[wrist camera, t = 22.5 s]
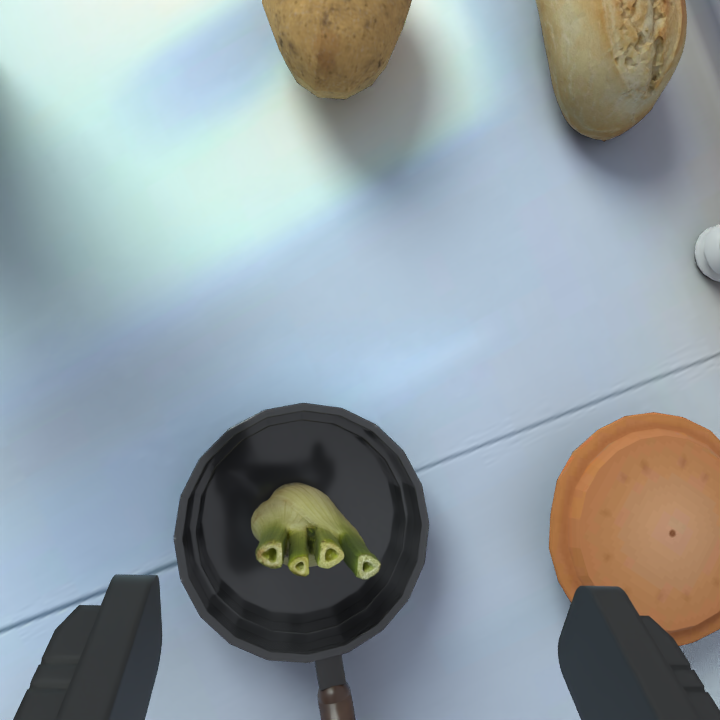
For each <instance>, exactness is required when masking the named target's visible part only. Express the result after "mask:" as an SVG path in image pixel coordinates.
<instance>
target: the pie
mask: <svg viewBox="0 0 720 720" xmlns="http://www.w3.org/2000/svg"><path fill="white" fill-rule="evenodd" d="M549 550H550V554H551V557H552V561H553V564H554V568H555V571H556V575H557V578H558V582H559V583H560V585H561V587H562V588H563V590H564V592H565V593H566V595H567V597H568V598H569V600H570V602H572V600H573V597H574V594H575V591H576V589H577V588H578V587H579V586H618V587H620V588H622V589H623V590H624V591H625V592H626V594H627V595H628V597H629V599H630V600H631V602H632V604H633V605H634V607H635V609H636V610H637V612H638V614H639V615H643V616H650V617H651V618H652V619H653V620H654V621H655V622H656V623H658V624H659V625H660V626H661V627H662V628H663V629H664V630H665V631H666V632H667V633H668V634H669V635H670V636H672V637H673V638H674V640H675V641H676V643H677V644H678V646H681V645H685V644H689V643H693V642H695V641H697V640H699V639H701V638H703V637H705V636H707V635H709V634H711V633H713V632H715V631H717V630H719V629H720V440H719V439H718V438H717V437H716V436H715V435H714V434H713V433H712V432H711V431H710V430H708V429H706V428H704V427H702V426H700V425H698V424H696V423H694V422H692V421H690V420H688V419H686V418H683V417H679V416H673V415H667V414H661V413H655V412H652V413H645V414H638V415H630V416H624V417H622V418H620V419H619V420H617V421H615V422H613V423H611V424H609V425H607V426H605V427H603V428H601V429H599V430H597V431H596V432H595V433H594V434H593V435H591V436H590V437H589V438H588V439H587V440H586V441H585V442H584V443H582V444H581V445H580V446H579V447H578V448H577V449H576V450H575V451H573V453H572V455H571V456H570V458H569V460H568V462H567V463H566V465H565V467H564V469H563V471H562V472H561V474H560V476H559V478H558V479H557V483H556V488H555V493H554V498H553V504H552V509H551V515H550V535H549Z"/></svg>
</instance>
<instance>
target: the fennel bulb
mask: <svg viewBox="0 0 720 720" xmlns="http://www.w3.org/2000/svg"><path fill="white" fill-rule="evenodd" d="M251 529H252V533H253V535H254V536H255V538H256V539H257V540H258V541H259V544H258V547H257V548H256V552H255V554H256V560H258V561H259V562H260V563H261V564H262V565H264V566H266V567H269V568H271V569H277V568H281V567H282V564H284V565H287V566H288V567H289V569H290V571H291V572H292V573H293V574H295V575H297V576H301V577H306V576H307V575H308V574H309V567H313V566H317V565H318V566H319V567H321V568H326V569H329V568H331V567H333V566H335V565H336V564H338V563H340V562H341V561H342V560H343V561H344V562H345V563H346V565H347V566H348V567H349V568H350V569H351V571H352V572H353V573H354V574H355V576H356V577H358V578H360V579H362V580H366V579H369V578H370V577H373V576H375V575H376V574H377V573H378V572H379V570H380V567H381V563H380V561H379V560H378V559H377V557H376V556H375V555H374V554H373V553H371V552H370V551H369V550H368V548H367V547H366V545H365V543H364V541H363V539H362V537H361V536H360V535H359V533H358V531H357V529H356V528H355V527H353V525H351V523H350V522H349V521H348V520H347V519H346V518H345V517H344V515H342V513H341V512H340V511H339V510H338V509H337V507H336V506H335V505H334V503H333V502H332V501H331V500H330V498H329V497H328V496H327V495H326V494H324V493H323V492H322V491H320V490H318V489H316V488H313V487H311V486H309V485H306V484H303V483H289V484H284V485H282V486H280V487H279V488H277V489H276V490H275V491H274V492H273V494H272V495H271V497H270V498H269V499H268V500H267V501H265V502H263V503H261V504H260V505H259V507H258V508H257V509H255V511H254V513H253V515H252V518H251Z"/></svg>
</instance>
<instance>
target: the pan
mask: <svg viewBox="0 0 720 720" xmlns="http://www.w3.org/2000/svg"><path fill="white" fill-rule="evenodd" d="M289 483H303V484H306V485H309V486H311V487H313V488H316V489H318V490H320V491H322V492H323V493H324V494H326V495H327V496H328V497H329V498H330V500H331V501H332V502H333V503H334V505H335V506H336V507H337V509H338V510H339V511H340V512H341V513H342V515H344V517H345V518H346V519H347V520H348V521H349V522H350V523H351V525H353V527H355V528H356V529H357V531H358V533H359V535H360V536H361V537H362V539H363V541H364V543H365V545H366V547H367V548H368V550H369V551H370V552H371V553H373V554H374V555H375V556H376V557H377V559H378V560H379V561H380V563H381V567H380V570H379V572H378V573H377V574H376V575H375V576H373V577H370V578H369V579H366V580H362V579H360V578H358V577H356V576H355V574H354V573H353V572H352V571H351V569H350V568H349V567H348V566H347V565H346V563H345V562H344V561H343V560H342V561H341V562H340V563H338V564H336V565H335V566H333V567H331V568H329V569H326V568H321V567H319V566H318V565H317V566H313V567H309V574H308V575H307V576H306V577H301V576H297V575H295V574H293V573H292V572H291V571H290V569H289V567H288V566H287V565H284V564H282V567H281V568H277V569H271V568H269V567H266V566H264V565H262V564H261V563H260V562H259V561H258V560H256V554H255V552H256V548H257V547H258V544H259V541H258V540H257V539H256V538H255V536H254V535H253V533H252V529H251V518H252V515H253V513H254V511H255V509H257V508H258V507H259V505H260V504H261V503H263V502H265V501H267V500H268V499H269V498H270V497H271V495H272V494H273V492H274V491H275V490H276V489H277V488H279V487H280V486H282V485H284V484H289ZM428 529H429V520H428V514H427V509H426V504H425V498H424V493H423V488H422V484H421V482H420V480H419V478H418V477H417V475H416V473H415V471H414V469H413V467H412V465H411V463H410V462H409V460H408V458H407V456H406V454H405V452H404V451H403V450H402V449H401V448H400V447H399V446H398V445H397V444H396V443H395V442H394V441H393V440H392V439H391V438H390V437H389V436H388V435H387V434H386V433H385V432H384V431H383V430H382V429H381V428H379V427H378V426H377V425H376V424H374V423H372V422H370V421H368V420H366V419H364V418H362V417H360V416H358V415H356V414H354V413H352V412H349V411H347V410H345V409H343V408H339V407H332V406H324V405H317V404H309V403H299V404H294V405H288V406H283V407H277V408H272V409H266V410H263V411H261V412H259V413H258V414H256V415H254V416H252V417H250V418H248V419H246V420H244V421H243V422H241V423H239V424H237V425H235V426H233V427H231V428H229V429H228V430H227V431H226V432H225V433H224V434H223V435H222V436H221V437H220V438H219V439H218V440H217V441H216V442H215V443H214V444H213V445H212V446H211V447H210V448H209V449H208V450H207V451H206V452H205V454H204V455H203V456H202V457H201V458H200V459H199V460H198V462H197V464H196V466H195V468H194V470H193V472H192V474H191V476H190V478H189V480H188V482H187V484H186V486H185V488H184V490H183V492H182V494H181V497H180V501H179V507H178V514H177V520H176V526H175V532H174V544H175V550H176V556H177V563H178V569H179V575H180V579H181V582H182V584H183V586H184V588H185V589H186V591H187V593H188V595H189V597H190V599H191V601H192V603H193V604H194V606H195V608H196V610H197V612H198V614H199V615H200V617H201V618H202V619H203V620H204V621H205V622H207V623H208V624H209V625H210V626H211V627H212V628H213V629H214V630H215V631H216V632H217V633H218V634H220V635H221V636H222V637H223V638H224V639H225V640H226V641H227V642H228V643H229V644H231V645H233V646H236V647H238V648H240V649H243V650H245V651H247V652H250V653H252V654H254V655H257V656H259V657H261V658H264V659H266V660H272V661H287V662H301V663H310V662H314V661H318V660H321V659H325V658H329V657H333V656H337V655H341V654H344V653H347V652H350V651H351V650H353V649H354V648H356V647H357V646H359V645H361V644H362V643H364V642H365V641H367V640H368V639H370V638H372V637H373V636H375V635H376V634H378V633H379V632H381V631H382V630H383V629H384V628H385V627H386V626H387V625H388V623H389V622H390V621H391V620H392V619H393V618H394V616H395V615H396V614H397V613H398V612H399V610H400V609H401V608H402V607H403V606H404V605H405V603H406V602H407V601H408V599H409V598H410V595H411V593H412V591H413V589H414V586H415V584H416V582H417V579H418V577H419V575H420V572H421V570H422V568H423V565H424V562H425V556H426V547H427V538H428Z"/></svg>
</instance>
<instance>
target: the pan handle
mask: <svg viewBox="0 0 720 720" xmlns="http://www.w3.org/2000/svg"><path fill="white" fill-rule="evenodd" d="M314 662H315V667H316V673H317V679H318V684H319V689H318V704H319V709H320V715H321V720H356V719H355V713H354V708H353V702H352V696H351V691H350V687H349V685H348V683H347V682H346V679H345V673H344V667H343V662H342V656H341V655H337V656H333V657H329V658H325V659H321V660H318V661H314Z"/></svg>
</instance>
